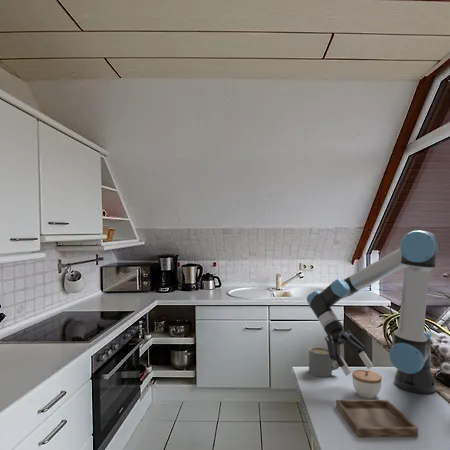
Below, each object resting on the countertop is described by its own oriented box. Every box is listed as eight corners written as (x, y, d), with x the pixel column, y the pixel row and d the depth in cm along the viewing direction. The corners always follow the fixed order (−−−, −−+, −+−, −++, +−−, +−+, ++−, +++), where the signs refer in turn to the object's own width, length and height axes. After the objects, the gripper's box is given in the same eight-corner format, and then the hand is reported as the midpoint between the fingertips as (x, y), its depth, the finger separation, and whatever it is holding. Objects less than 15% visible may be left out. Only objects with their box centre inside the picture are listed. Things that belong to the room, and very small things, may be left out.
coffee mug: (306, 374, 159) (306, 351, 159) (312, 366, 167) (312, 345, 167) (337, 380, 152) (337, 357, 152) (341, 372, 161) (341, 350, 161)
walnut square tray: (387, 406, 130) (387, 399, 130) (417, 436, 111) (418, 428, 111) (336, 406, 129) (336, 399, 129) (358, 437, 110) (358, 428, 110)
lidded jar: (384, 402, 133) (384, 377, 133) (354, 399, 135) (354, 374, 135) (378, 390, 143) (378, 366, 144) (350, 387, 145) (350, 364, 146)
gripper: (344, 325, 163) (373, 369, 150) (305, 332, 150) (333, 381, 137) (354, 316, 159) (385, 360, 146) (315, 322, 145) (344, 372, 133)
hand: (360, 370), depth 141 cm, fingers open, 13 cm apart
